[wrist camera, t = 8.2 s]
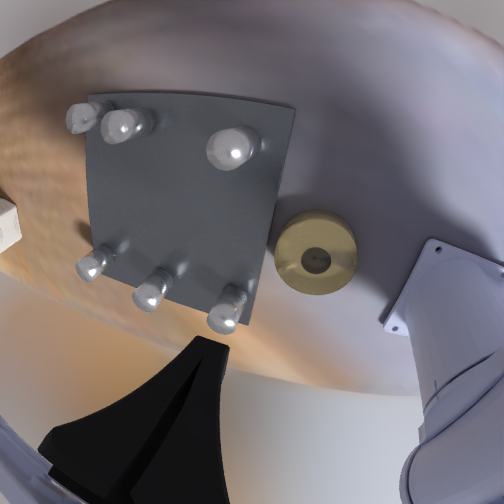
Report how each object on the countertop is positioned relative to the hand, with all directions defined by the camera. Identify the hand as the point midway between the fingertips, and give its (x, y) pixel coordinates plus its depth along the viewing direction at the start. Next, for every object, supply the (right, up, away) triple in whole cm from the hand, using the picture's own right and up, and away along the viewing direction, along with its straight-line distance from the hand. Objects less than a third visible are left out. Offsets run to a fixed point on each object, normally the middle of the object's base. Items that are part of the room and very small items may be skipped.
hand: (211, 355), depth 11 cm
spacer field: (-4, +7, +8) cm, 12 cm away
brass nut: (+6, +5, +7) cm, 10 cm away
